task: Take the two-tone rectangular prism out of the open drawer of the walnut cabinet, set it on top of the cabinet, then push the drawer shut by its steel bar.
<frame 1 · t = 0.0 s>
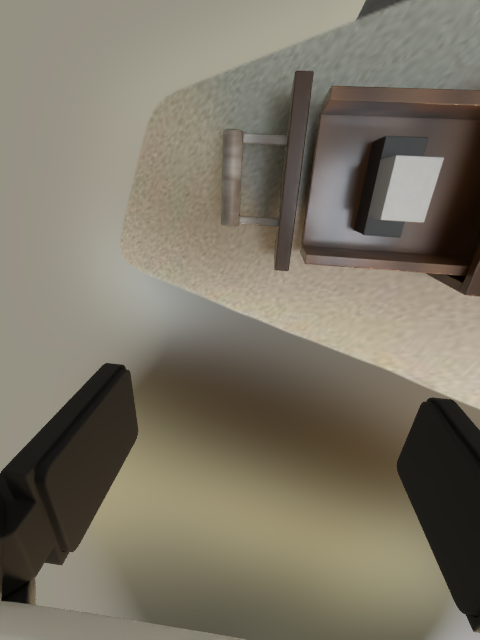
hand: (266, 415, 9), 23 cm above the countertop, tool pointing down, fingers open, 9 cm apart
drawer: (364, 188, 23), point 4 cm above the countertop, slide at 14.0 cm, touching two-tone rectangular prism
two-tone rectangular prism: (380, 189, 25), point 2 cm above the countertop, touching drawer
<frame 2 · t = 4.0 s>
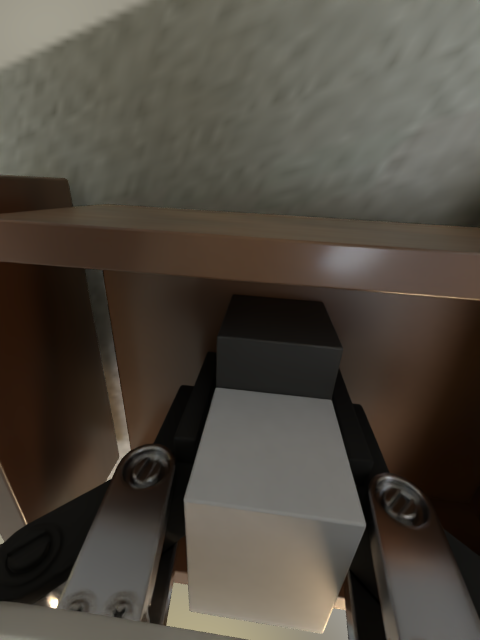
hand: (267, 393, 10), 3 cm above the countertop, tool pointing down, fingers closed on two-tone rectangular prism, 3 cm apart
drawer: (215, 406, 10), point 4 cm above the countertop, slide at 14.0 cm, touching two-tone rectangular prism
two-tone rectangular prism: (267, 383, 11), point 2 cm above the countertop, touching drawer, gripper
when the fingers open (8 cm above the countertop, at t = 9.7 s): two-tone rectangular prism stays where it is, resting on cabinet.
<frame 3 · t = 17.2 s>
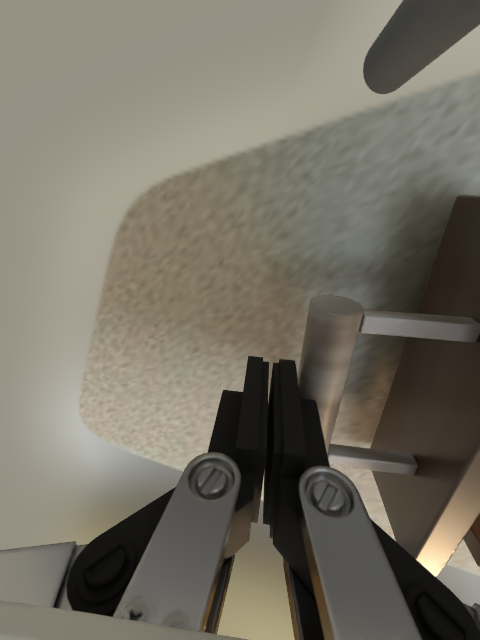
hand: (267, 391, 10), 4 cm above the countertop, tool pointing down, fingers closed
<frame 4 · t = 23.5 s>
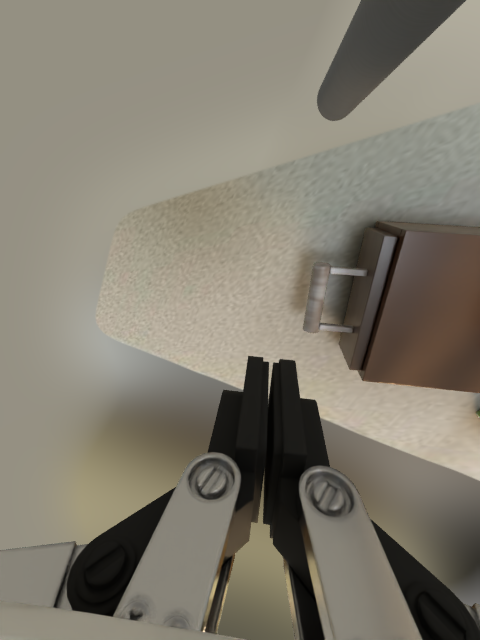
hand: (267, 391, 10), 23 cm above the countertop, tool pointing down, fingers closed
drawer: (426, 305, 28), point 4 cm above the countertop, slide at 0.0 cm
cabinet: (451, 296, 31), on the countertop
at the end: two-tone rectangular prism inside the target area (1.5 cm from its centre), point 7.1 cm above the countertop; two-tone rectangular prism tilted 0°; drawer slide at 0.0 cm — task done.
